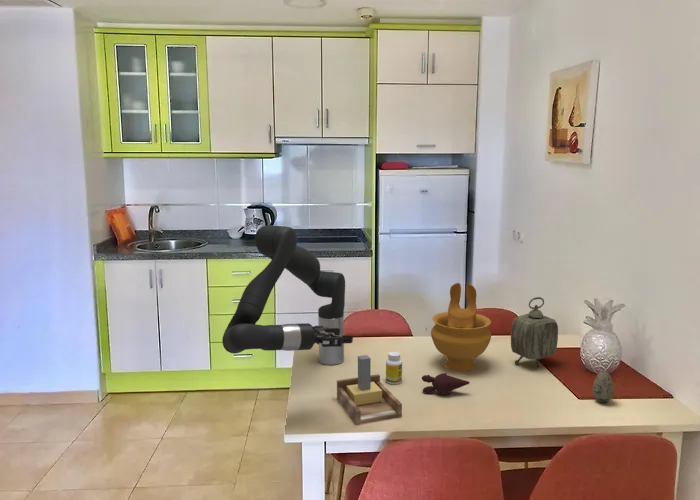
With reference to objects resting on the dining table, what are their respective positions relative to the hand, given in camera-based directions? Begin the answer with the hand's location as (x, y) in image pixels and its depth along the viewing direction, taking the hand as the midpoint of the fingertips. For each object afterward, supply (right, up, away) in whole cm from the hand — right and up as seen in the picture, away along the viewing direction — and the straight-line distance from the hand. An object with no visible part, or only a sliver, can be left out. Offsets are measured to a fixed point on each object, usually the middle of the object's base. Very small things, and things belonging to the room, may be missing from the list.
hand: (345, 335), depth 168 cm
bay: (+7, -22, +4) cm, 24 cm away
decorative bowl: (+41, -16, +36) cm, 57 cm away
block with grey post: (+6, -21, +7) cm, 22 cm away
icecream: (+32, -21, +13) cm, 40 cm away
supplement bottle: (+16, -19, +23) cm, 33 cm away
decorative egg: (+79, -22, +7) cm, 82 cm away
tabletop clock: (+67, -16, +36) cm, 78 cm away
